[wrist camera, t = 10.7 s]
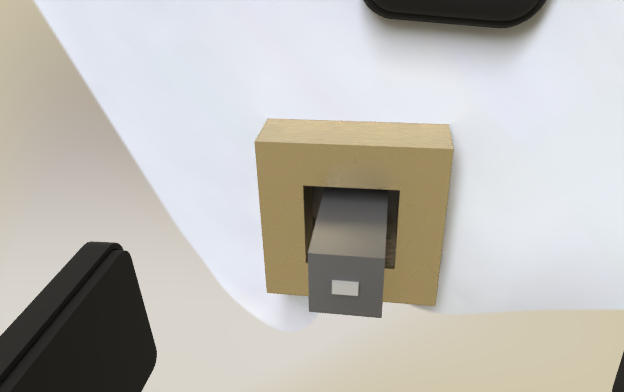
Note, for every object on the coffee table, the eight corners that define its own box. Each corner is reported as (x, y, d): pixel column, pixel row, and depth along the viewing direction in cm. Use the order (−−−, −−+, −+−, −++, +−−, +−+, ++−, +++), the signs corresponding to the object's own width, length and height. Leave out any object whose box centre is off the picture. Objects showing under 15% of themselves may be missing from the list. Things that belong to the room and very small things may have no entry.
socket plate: (448, 124, 32) (453, 148, 29) (432, 272, 37) (435, 305, 34) (267, 118, 33) (254, 141, 30) (277, 261, 39) (267, 292, 36)
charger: (388, 184, 34) (385, 262, 27) (385, 236, 36) (381, 321, 29) (326, 181, 35) (306, 256, 28) (326, 232, 37) (308, 315, 30)
